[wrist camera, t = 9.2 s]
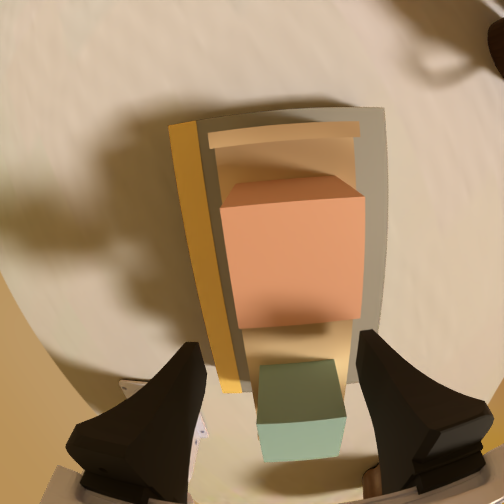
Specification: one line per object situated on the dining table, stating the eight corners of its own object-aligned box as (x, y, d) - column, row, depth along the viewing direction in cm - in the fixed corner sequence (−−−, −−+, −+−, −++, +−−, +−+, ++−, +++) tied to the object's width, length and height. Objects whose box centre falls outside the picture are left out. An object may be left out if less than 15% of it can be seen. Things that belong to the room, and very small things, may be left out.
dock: (361, 357, 24) (369, 381, 22) (227, 368, 25) (222, 393, 23) (367, 110, 17) (384, 107, 14) (182, 126, 18) (167, 125, 15)
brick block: (337, 266, 13) (360, 318, 9) (247, 274, 13) (238, 328, 10) (335, 175, 11) (365, 196, 8) (235, 183, 12) (219, 208, 8)
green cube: (330, 403, 17) (338, 456, 13) (266, 409, 17) (264, 462, 13) (333, 359, 15) (346, 416, 11) (259, 365, 15) (256, 424, 12)
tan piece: (331, 377, 21) (342, 433, 16) (261, 383, 22) (258, 440, 17) (330, 124, 15) (359, 121, 10) (227, 132, 15) (207, 133, 10)
